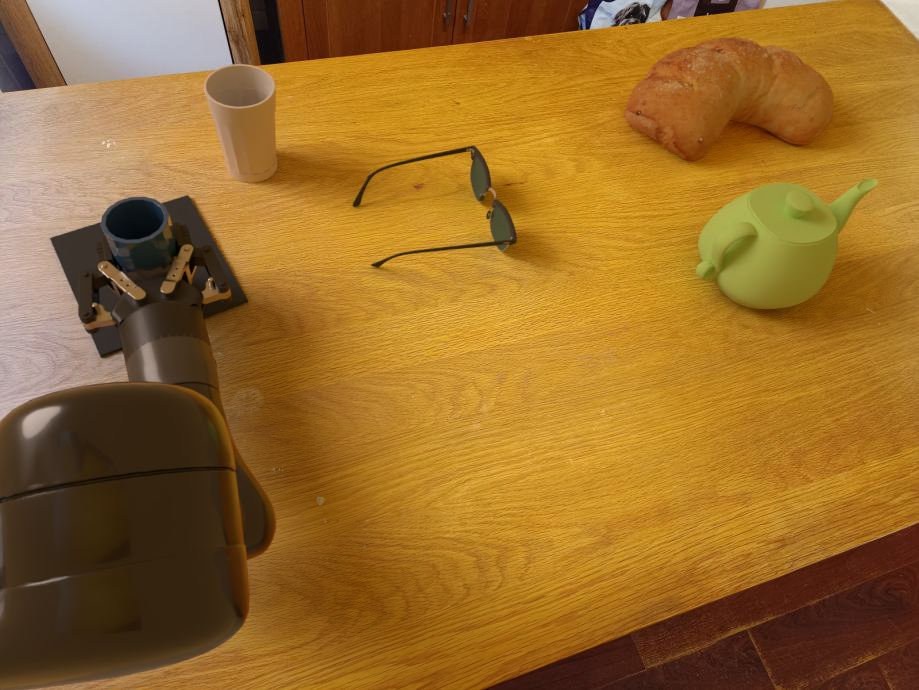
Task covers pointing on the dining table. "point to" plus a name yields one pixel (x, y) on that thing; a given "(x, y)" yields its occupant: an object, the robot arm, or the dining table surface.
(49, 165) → the dining table surface
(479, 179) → the sunglasses
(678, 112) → the bread
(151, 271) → the tumbler
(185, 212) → the mat
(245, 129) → the cup
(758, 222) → the teapot
